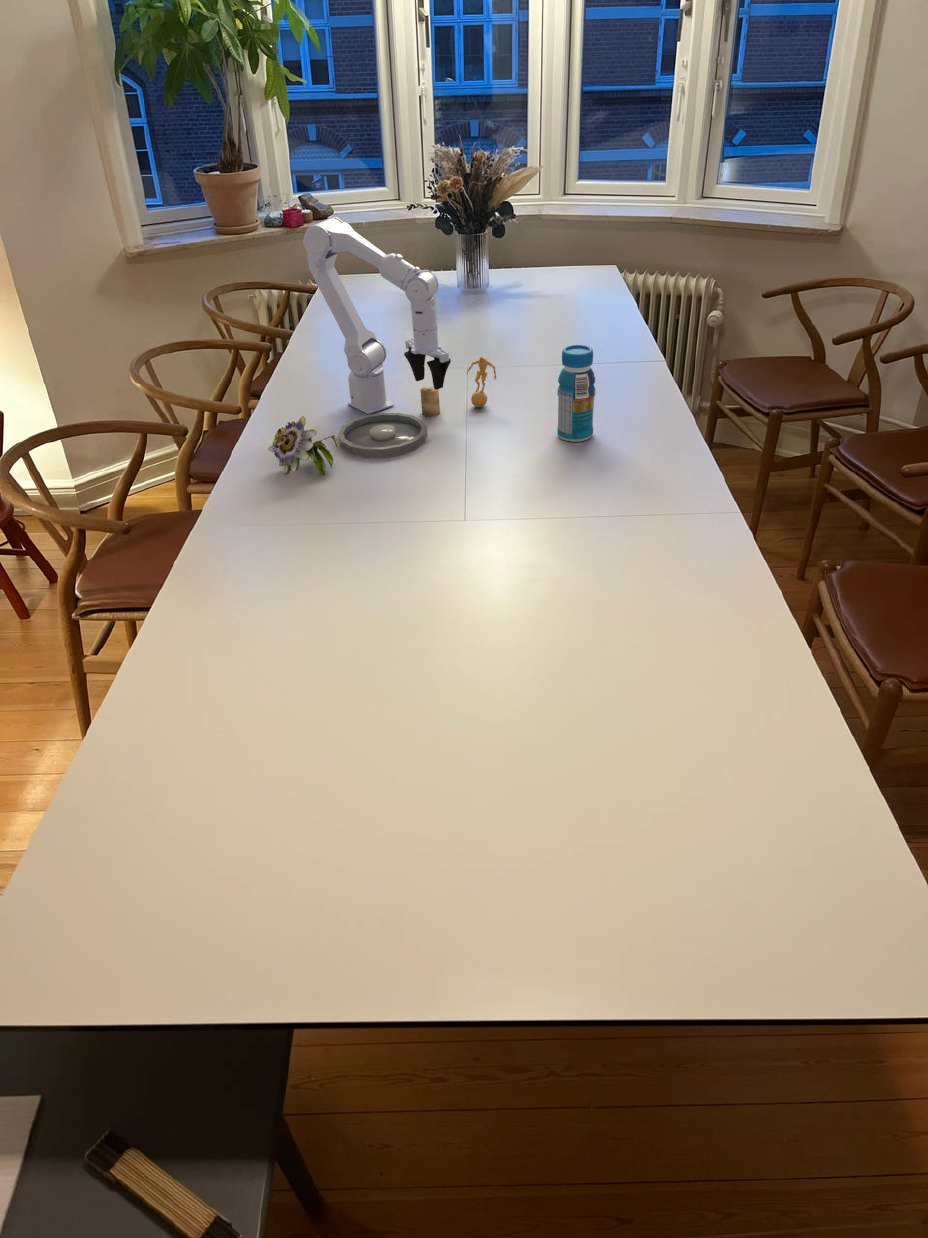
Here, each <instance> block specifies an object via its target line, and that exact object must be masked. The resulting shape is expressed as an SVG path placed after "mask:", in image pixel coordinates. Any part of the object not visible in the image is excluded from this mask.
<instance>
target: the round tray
mask: <svg viewBox="0 0 928 1238" xmlns="http://www.w3.org/2000/svg"><path fill="white" fill-rule="evenodd" d="M428 435H429V434H428V426H427V425H426V423H425V421H424V420H423V419H421V418H419V417H417V416H415V415H411V414H408V413H402V412H378V413H371V414H365V415H362V416H360V417H358V418H353V419H351V420H350V421H348V422H347V423H345V424H344V425H342V426H341V427H340V429H339V431H338V433H337V437H338V444H339V446H340V448H341V449H342V450H343V451H345V452H347V453H348V454H350V455H353V456H358V457H363V458H383V459H384V458H389V457H394V456H395V457H396V456H401V455H404V454H407V453H410V452H412V451H415V450H417V449H418V448H420V447H421V446H422V445H424V444H425V443H426V441H427V437H428Z"/></svg>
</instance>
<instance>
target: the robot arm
mask: <svg viewBox="0 0 928 1238" xmlns="http://www.w3.org/2000/svg"><path fill="white" fill-rule="evenodd" d="M304 233H305V234H304V236H303V240H302V246H303V247H304V249H305V251H306V255H307V264H308V265H307V266H308V269H309V272H310V273H311V276H312V277H313V280H315V281H314V282H315V283H316V285H317V286H318V288H319V290H320V293H321V294H322V297H323V298H324V300H325V302H326V304H327V306H328V308H329V310H330V311H331V315H333V317H334V320H335V322H336V323H337V325H338V327H339V330H340V332H341V333H342V335H343V337H344V339H345V342H344V347H343V352H344V353H345V355H346V359H347V361H346V362H347V366H348V368H349V370H350V372H349V373H348V374H349V375H348V378H347V380H348V381H347V382H348V389H349V396H350V401H347V404H348V406H351V407H353V408H354V409H357V410H359V411H361V412H363V413H364V414H365V415H371V414H375V413H376V412H379V411H382V410H385V409H388V408H391V407H394V406H395V405H394V403H393V402H391V401H388V400H387V396H386V395H387V394H386V384H385V383H386V382H385V375H384V362H385V361H386V359H387V349H386V347H385V345H384V344H383V343H382V342H381V341H380V340H379V339H378V338H377V336H376V335H375V332H373V331H372V330H370V329H368V328H366V326H365V324H364V323H363V321H362V318H361V317H360V315H359V312H358V311H357V309H356V307H355V305H354V303H353V300H352V299H351V297H350V295H349V293H348V291H347V289H346V287H345V284H343V281H342V278H341V277H340V275H339V273H338V271H337V269H336V268H335V263H336V259H337V256H338V253H343V252H349V253H350V254H353V255H355V256H356V257H358V258H360V259H362V260H364V261H365V262H367V263H369V264H370V265H372V266H374V267H376V268H377V269H378V270H379V271H378V272H379V274H380V276H381V278H383V279H384V280H386V281H388V282H389V283H391V284H392V285H394V286H396V287H397V288H399V289H400V290H402V291H404V293H405V297H406V298H407V299H408V300H409V303H410V311H411V322H412V334H413V338H410V339H406V340H405V341H404V342H405V343H404V344H405V349H406V350H408V351H405V352H403V353H404V354H403V355H404V357H405V359H406V360H407V362H408V364H409V365H410V368H411V371H412V374H413V376H414V380H415V381H416V382H420V381H423V380H425V372H426V371H425V362H426V357H427V356H428V357H430V358H433V359H432V360H429V361H427V362H426V364H427V366H428V368H429V371H430V373H431V378H432V385H433V387H434V389H436V390H437V389H439V390H440V389H442V388H444V383H445V378H446V374H447V371H448V368H449V366H450V364H451V362H452V361H451V360H452V359H451V358H449V355H450V354H449V352H448V351H446V350H445V349H444V348H443V347H442V346H441V345H440V344H439V337H438V336H439V335H438V334H439V332H438V318H437V315H438V314H437V305H436V303H437V301H436V295H435V294H436V293H437V292H438V290H439V280H438V278H437V276H436V275H435V274H434V273H433V272H432V271H431V270H429V269H423V270H421V268H420V267H419V266H414V265H413V264H412V263H410V262H408V261H406V260H405V259H404V258H403V257H404V256H403V255H402V254H400V253H397V254H396V253H388V254H386V253H385V252H384V251H382V250H381V249H379V248H378V247H377V246H375V245H374V244H372V242H370V241H369V240H367V239H366V238H364V237H363V236H362V235H360V234H359V233H358V232H356V231H355V230H354V229H353V227H352V226H351V224H349V223H347V222H344V221H343V220H342V219H340V218H339V217H336V216H330V217H328V218H327V219H325V220H323V221H321V222H319V223H315V224H313V225H311V226H309V227H308V228H307V229H306V231H305V232H304Z"/></svg>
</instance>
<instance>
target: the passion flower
mask: <svg viewBox="0 0 928 1238" xmlns="http://www.w3.org/2000/svg"><path fill="white" fill-rule="evenodd" d="M306 420H307V419H306V417H305V416H304V415H302V416H301V417H300V418H299V419H298V421H294V420H292V421H291V422H290V421H288V422H287V424H285V427H283V426H281V428H280V427H279V428H278V430H277V431H276V432H275V434H274V438H273V440H272V445H271V446H269V447H268V451H270V452H272V453H273V455H274V456H275V457H276V458H277V460H278V462H279V464H278V466H279V467H283V466H284V469H283V474H289V473H290V472H291V471H292V472H293V473H296V472H297V471H298V470H299V468H300V461H301V460H302V461H307V460H309V458H310V459H311V461H313V464H314V466H315V468H316V470H317V471H318V473H319V474H321V475H326V463H325V459H326V461H327V462H328V464H329V466H330V469H332V467H333V464H334V463H333V462H334V458H333V455H332V453H331V452H330V450H329V449H328V448H327V446H326V444H325V443H323V441H324V440H327V439H330V438H331V439H333V441H334V443H335V447H336V448H337V447H339V446H340V443H339V441H338V440H337V438H336V435H335V434H333V435H330V436H328V437H325V438H323V439H321V440H317V441H315V442H312V441H313V438H314V437H315V436H317V429H316V428H312V429H308V430H305V426H306V423H307V422H306ZM319 451H320V452H319ZM321 454H323V456H324V457H325V459H324V457H323V456H322V455H321Z"/></svg>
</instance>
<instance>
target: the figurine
mask: <svg viewBox="0 0 928 1238" xmlns="http://www.w3.org/2000/svg"><path fill="white" fill-rule="evenodd" d="M476 364H477V365H478V367H479V370H478V371H477V372H476V377H475V379H474V382H475V383H476V385H477V387H476V389H475V391H474V392H473V393H472V395H471V396H470V400H471V404H472V405H473V406H474V407H475V408H483V407H484V406H485V405H486V404H487V401H488V395H487V393H485V392H484V390H485V385H486V382H485V381H486V379H487V375H488V372H487V371H486V370H487V367H488V366H490V367H491V368H492V370H493V374H494V376H493V380H497V373H496V372H497V371H496V366H495V365H494V364H493V363H492V362H490V360H489V359H488V358H487V357H485V356H484V357H483V356H480V357H479V359H477V360H476V361H473V362H472V363H471V365H470V366H469V367H468V369H467V371H466V376H467V375H468V373H469V371H470V370H471V369H472V368H473V367H474V365H476ZM480 378H481V379H480ZM479 380H481V382H479ZM480 384H482V388H481V390H480Z"/></svg>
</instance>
